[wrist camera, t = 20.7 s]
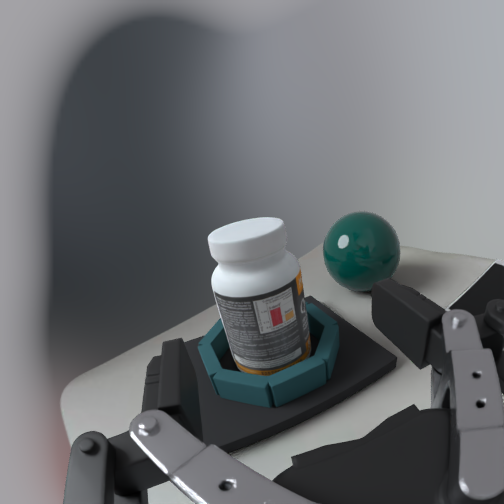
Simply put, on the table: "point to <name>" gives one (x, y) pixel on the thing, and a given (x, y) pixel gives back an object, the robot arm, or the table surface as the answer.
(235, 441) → the dock
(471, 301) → the smartphone
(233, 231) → the pill bottle
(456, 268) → the table surface
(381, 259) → the sphere
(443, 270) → the table surface
